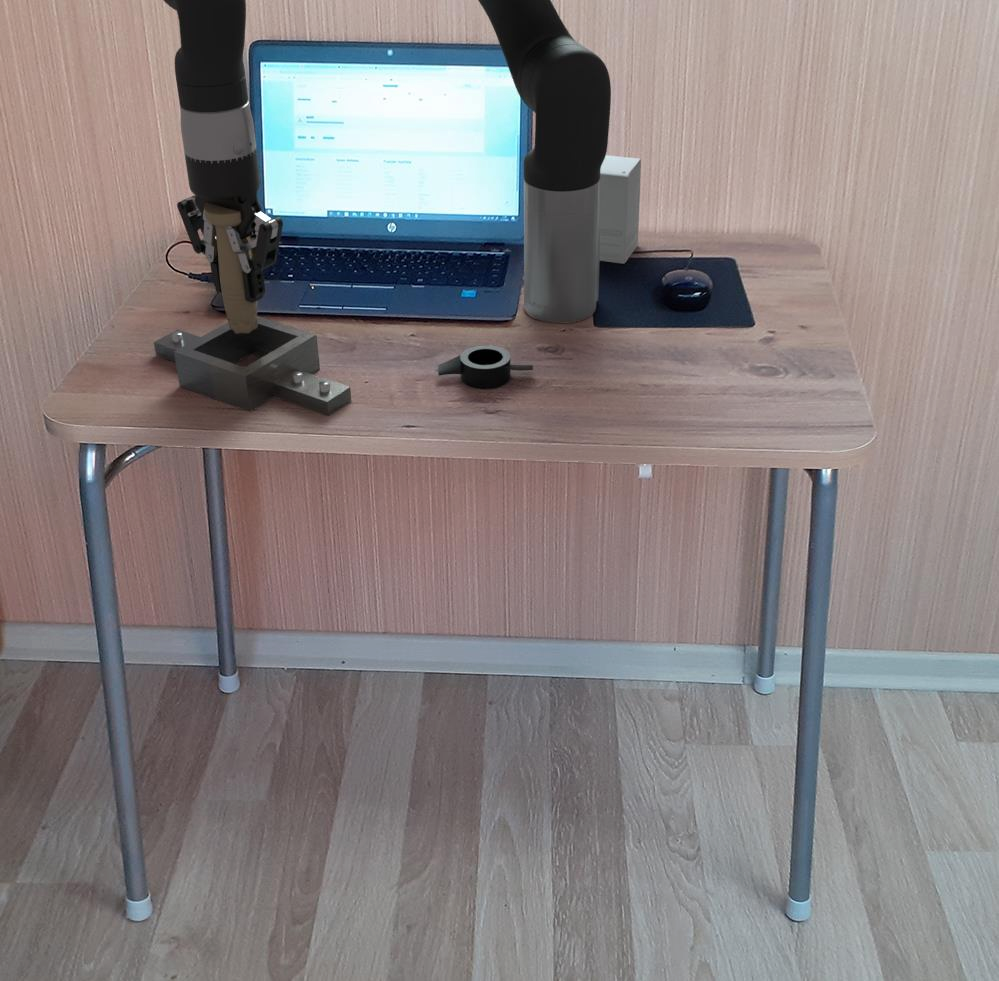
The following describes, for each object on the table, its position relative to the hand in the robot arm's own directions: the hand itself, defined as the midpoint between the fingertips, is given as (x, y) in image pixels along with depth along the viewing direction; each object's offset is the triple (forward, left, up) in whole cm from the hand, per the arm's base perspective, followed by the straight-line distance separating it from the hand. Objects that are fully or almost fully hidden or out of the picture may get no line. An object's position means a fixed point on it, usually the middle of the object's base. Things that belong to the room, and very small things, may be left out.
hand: (239, 294), depth 147 cm
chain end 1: (0, -7, -11) cm, 13 cm away
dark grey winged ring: (-15, +23, -11) cm, 30 cm away
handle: (0, 0, -4) cm, 4 cm away
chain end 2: (0, +7, -11) cm, 13 cm away
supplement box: (-54, +17, -11) cm, 58 cm away
